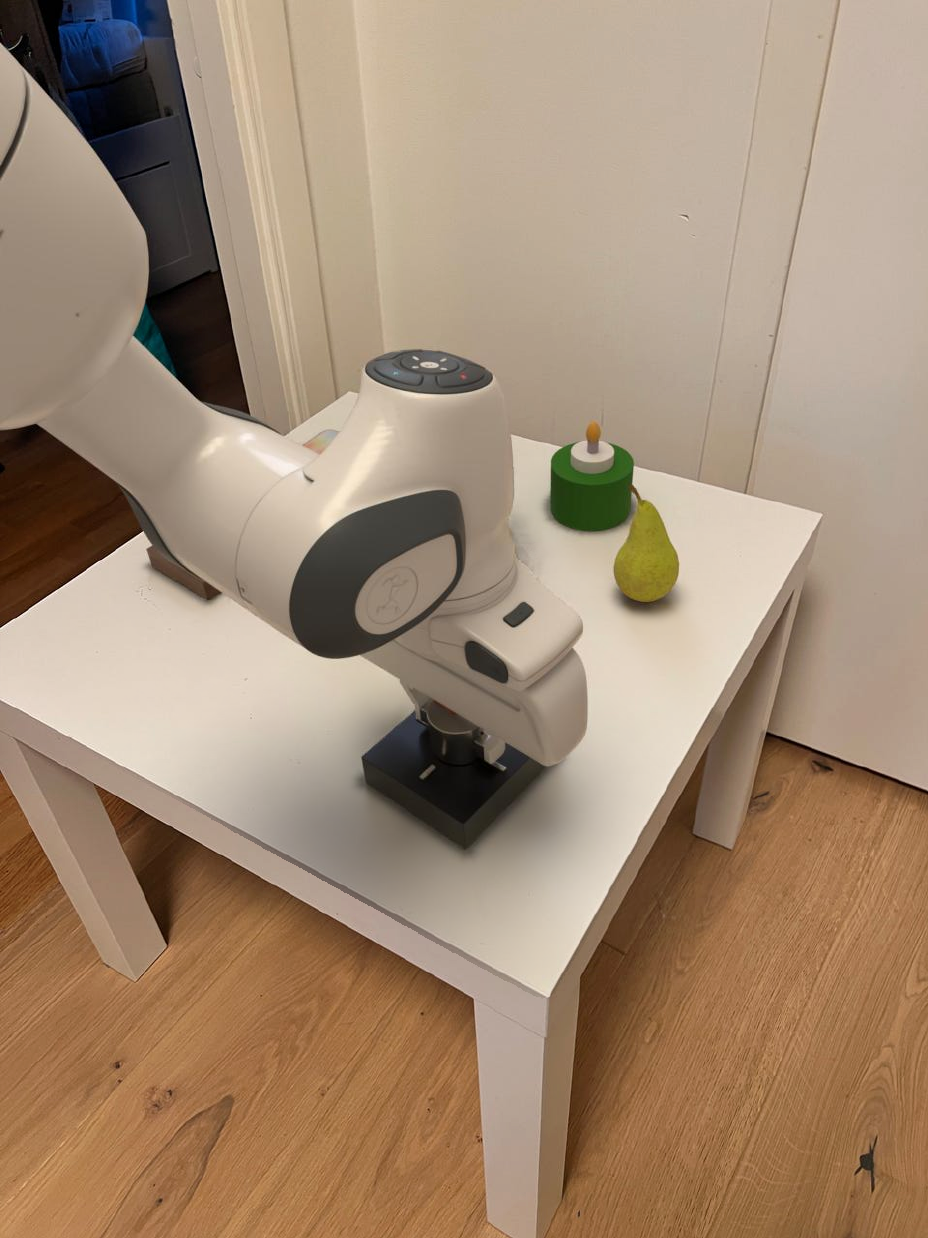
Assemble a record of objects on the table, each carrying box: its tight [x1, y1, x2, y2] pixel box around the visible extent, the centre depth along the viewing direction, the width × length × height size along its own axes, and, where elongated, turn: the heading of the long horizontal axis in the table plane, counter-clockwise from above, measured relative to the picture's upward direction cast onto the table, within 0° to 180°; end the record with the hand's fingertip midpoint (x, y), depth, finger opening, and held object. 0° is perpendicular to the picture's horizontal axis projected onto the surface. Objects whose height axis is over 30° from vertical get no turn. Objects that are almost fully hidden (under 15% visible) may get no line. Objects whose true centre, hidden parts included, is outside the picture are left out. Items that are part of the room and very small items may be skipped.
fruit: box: [613, 483, 680, 603], centre depth 83 cm, size 6×6×12 cm
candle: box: [549, 421, 635, 532], centre depth 95 cm, size 8×8×10 cm
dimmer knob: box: [427, 699, 484, 765], centre depth 69 cm, size 4×4×4 cm
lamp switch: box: [145, 544, 221, 601], centre depth 94 cm, size 12×9×4 cm
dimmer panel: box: [360, 710, 547, 851], centre depth 71 cm, size 11×10×3 cm
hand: (460, 736), depth 70 cm, fingers closed on dimmer knob, 4 cm apart
